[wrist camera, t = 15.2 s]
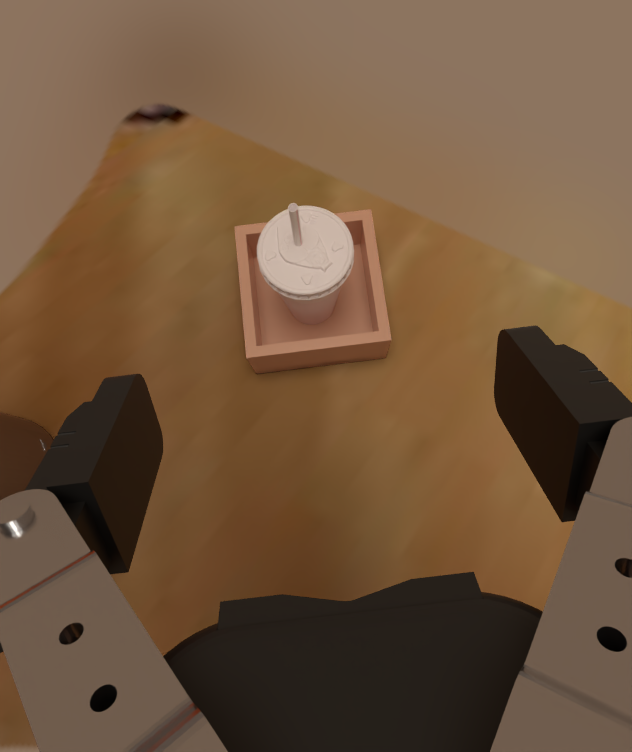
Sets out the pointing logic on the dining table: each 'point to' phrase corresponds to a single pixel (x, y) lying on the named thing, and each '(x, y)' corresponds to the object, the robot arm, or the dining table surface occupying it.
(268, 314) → the pink square tray
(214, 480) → the dining table surface
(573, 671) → the robot arm
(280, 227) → the smoothie
